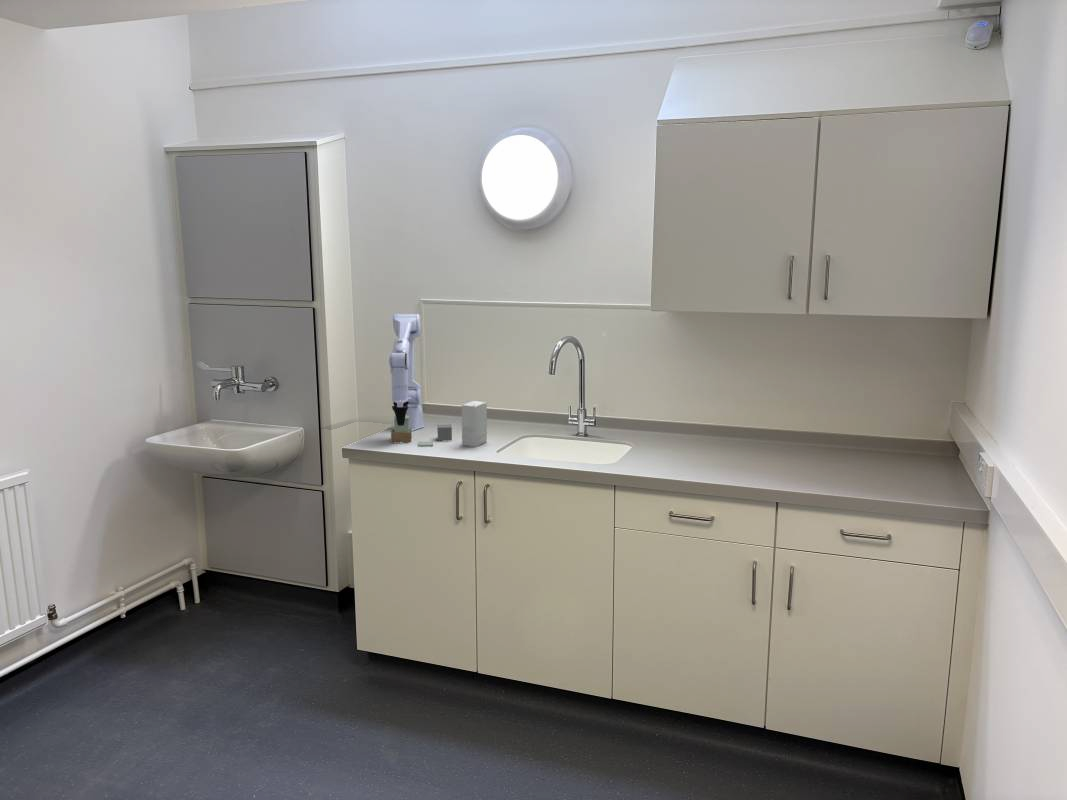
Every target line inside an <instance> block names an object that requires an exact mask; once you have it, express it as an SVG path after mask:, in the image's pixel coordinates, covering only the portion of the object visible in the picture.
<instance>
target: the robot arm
mask: <svg viewBox="0 0 1067 800" xmlns="http://www.w3.org/2000/svg"><path fill="white" fill-rule="evenodd" d="M392 316H393V317H392V324H393V330H394V333H395V336H396V337H397V338H396V339H395V340H394V342H393V346H392V347H393V348H392V353H390V354H389V358H388V364H389V368H390V369H389V370H390V374H391V392H392V393H391V396H392V397H391V401H392V404H393V405H392V406H391V408H392V411H393V413H394V414H395V415H394V416H396V420H397V424H398V426H403V425H404V422H405V415H409V428H411V432H413V431H417V430H419V429H422V428H425V426H426V425H424V416H423V415H424V413H423V408H422V406H421V403H422V389H421V388H422V387H421V385H420V383H418V382H416V381H415V380H414V378H415V377H414V376H415V373H414V372H415V341H416V338H418V337H420V335H421V316H420V314H419V313H416V314H415V313H409V314H408V313H394V315H392Z"/></svg>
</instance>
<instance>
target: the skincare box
mask: <svg viewBox="0 0 1067 800" xmlns="http://www.w3.org/2000/svg"><path fill="white" fill-rule="evenodd" d="M487 412H488V409H487V402H486V401H485V402H484V401H479V400H472V401H469V402H467V403H464V404H461V445H462V446H466V447H467V446H468V447H472V448H476V447H479V446H480V445H482V444H485V443H487V440H488V437H487V436H488V434H487V433H488V430H487V427H488V424H487V421H488V420H487V417H488V414H487Z"/></svg>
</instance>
